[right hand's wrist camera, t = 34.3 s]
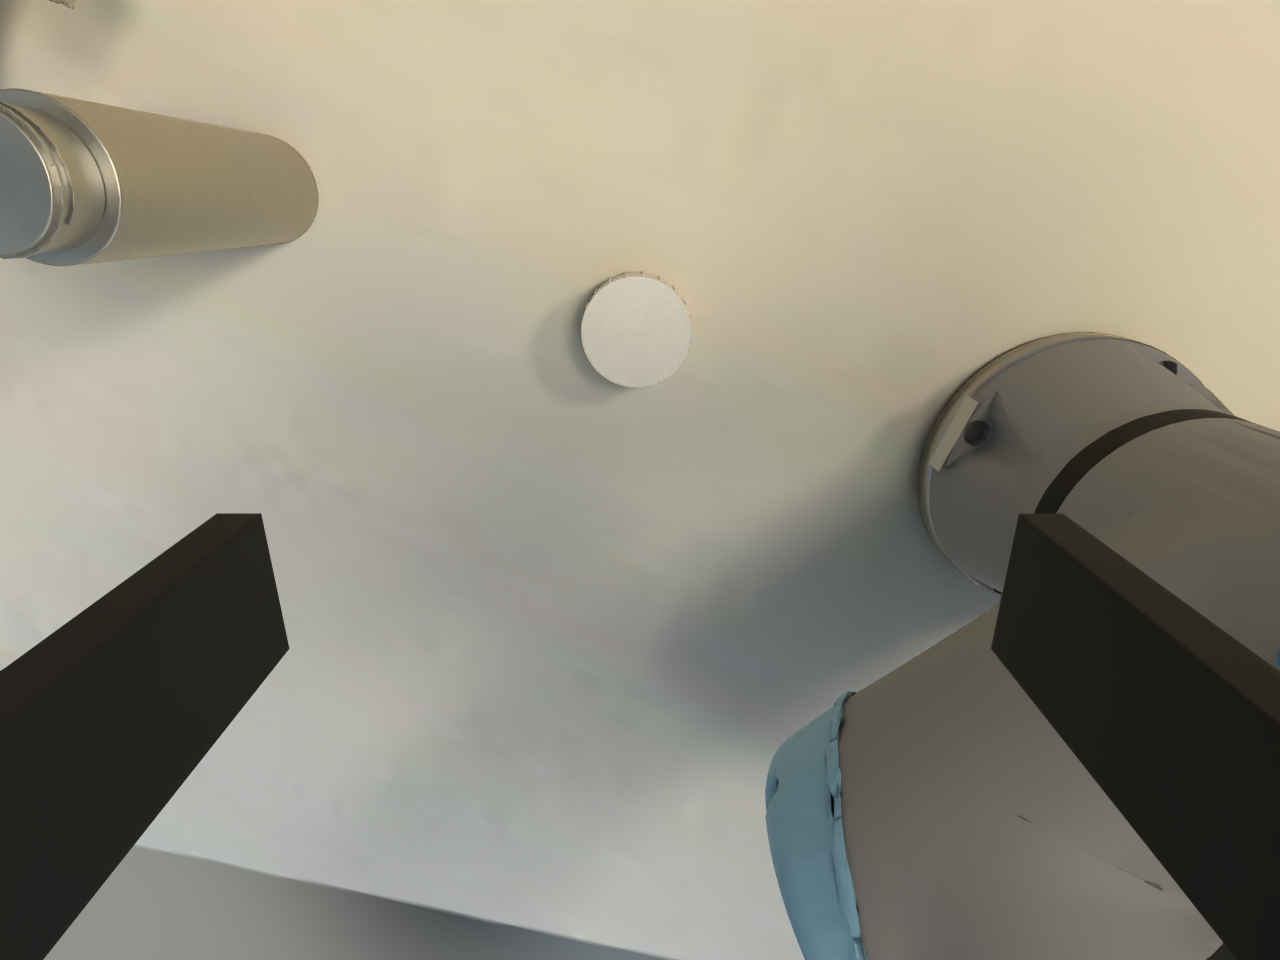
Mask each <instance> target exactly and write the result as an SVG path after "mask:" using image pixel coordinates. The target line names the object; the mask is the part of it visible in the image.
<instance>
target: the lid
mask: <svg viewBox="0 0 1280 960" xmlns="http://www.w3.org/2000/svg"><path fill="white" fill-rule="evenodd" d="M685 306H687V305H686V303H685V301H684V300H682V299H681V297H680V295H679V294H678V293H677V291H676V289H675V287H674V286H673V287H672V286H671V285H670V284H669V283H667V282H666V281H664V280H663V279H661V276H659V277H657V276H654V275H652V274H647V273H645V271H642V273H641V272H631V273H627V272H625V274H621V275H618V276H616V277H614V278H611V277H610V278H609V280H608V281H607V282H605V283H604V284H603V285H602V286H601V287H600V288H599V289H598V288H597V289H596V290H595V292H594V295H593V297H592V298H591V300H590V302H587V304H586V306H585V309H586V310H585V312H584V315H583V319H582V322H581V324H580V326H581V340H582V341H581V343H582V345H583V348H584V351H585V354H586V356H587V359H588V360H589V362H590V363H591V365H592V366H593V367H594V368H595V370H596V371H597V372H598V373H600V374H601V375H602V376H603V377H605V378H606V379H607V380H609V381H611V382H613V383H615V384H618V385H621V386H625V387H632V388H641V387H648V386H652V385H655V384H657V383H660V382H662V381H663V380H665V379H667V378H668V377H670V376H671V375H672V374H673V373H674V372H675V371H676V370H677V369H678V368H679V367H680V365H681V364H682V363H683V361H684V359H685V357H686V356H687V353H688V350H689V347H690V343H691V340H692V337H691V335H692V333H691V323H692V320H691V318H690V316H689V314H688V311H687V309H686V307H685Z"/></svg>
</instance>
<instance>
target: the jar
mask: <svg viewBox="0 0 1280 960" xmlns="http://www.w3.org/2000/svg"><path fill="white" fill-rule="evenodd" d="M317 205H318V192H317V186H316V182H315V179H314V176H313V174H312V172H311V170H310V168H309V166H308V165H307V163H306V161H305V160H304V159H303V158H302V156H301V155H300V154H299V153H298V152H297V151H296V150H295V149H294V148H292V147H291V146H290V145H289V144H287V143H285V142H284V141H282V140H280V139H278V138H275V137H272V136H269V135H264V134H259V133H253V132H248V131H243V130H237V129H232V128H227V127H221V126H216V125H211V124H206V123H200V122H195V121H190V120H184V119H179V118H174V117H168V116H163V115H158V114H152V113H147V112H142V111H137V110H131V109H126V108H121V107H115V106H110V105H105V104H99V103H94V102H89V101H83V100H78V99H73V98H68V97H62V96H57V95H52V94H46V93H41V92H36V91H30V90H24V89H1V90H0V258H3V259H10V258H27V259H30V260H32V261H35V262H38V263H42V264H46V265H53V266H71V265H81V264H90V263H100V262H109V261H118V260H128V259H137V258H147V257H156V256H166V255H175V254H185V253H194V252H204V251H213V250H222V249H232V248H241V247H251V246H260V245H270V244H279V243H286V242H289V241H292V240H294V239H296V238H298V237H300V236H301V235H302V234H303V233H305V232H306V230H307V229H308V228H309V227H310V225H311V224H312V222H313V220H314V217H315V215H316V211H317Z"/></svg>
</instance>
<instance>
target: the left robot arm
mask: <svg viewBox="0 0 1280 960" xmlns="http://www.w3.org/2000/svg"><path fill="white" fill-rule="evenodd" d="M50 1H52V2H55V3H57V4H59V3H61V4H63V5H65V6H66V7H69V8H72V9H74V8H75V4H76V1H77V0H50Z"/></svg>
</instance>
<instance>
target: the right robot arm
mask: <svg viewBox="0 0 1280 960" xmlns="http://www.w3.org/2000/svg"><path fill="white" fill-rule="evenodd" d="M918 497H919V504H920V510H921V513H922V517H923V520H924V523H925V525H926V528H927V530H928V532H929V534H930V536H931V537H932V539H933V541H934V542H935V544H936V545H937V546H938V548H939V549H940V550H941V551H942V553H943V554H944V555H945V556H946V557H947V558H948V559H949V561H950V562H951V563H952V564H953V565H954V566H955V567H956V568H957V569H958V570H959V571H960V572H961V573H962V574H963V575H965V576H966V577H967V578H968V579H970V580H971V581H973V582H974V583H976V584H977V585H979V586H981V587H983V588H985V589H987V590H988V591H990V592H993V593H995V594H997V595H999V596H1002V597H1001V602H1000V604H999V605H998V606H996V607H994V608H993V609H991V610H990V611H988V612H986V613H985V614H983V615H982V616H980V617H978V618H977V619H975V620H974V621H972V622H970V623H969V624H967V625H966V626H964V627H963V628H961V629H959V630H958V631H956V632H955V633H953V634H951V635H950V636H948V637H947V638H945V639H943V640H942V641H940V642H939V643H937V644H935V645H934V646H932V647H931V648H929V649H927V650H926V651H924V652H923V653H921V654H920V655H918V656H916V657H915V658H913V659H912V660H910V661H908V662H907V663H905V664H904V665H902V666H900V667H899V668H897V669H896V670H894V671H892V672H891V673H889V674H887V675H886V676H884V677H882V678H881V679H879V680H878V681H876V682H874V683H873V684H871V685H869V686H868V687H866V688H864V689H863V690H861V691H859V692H858V693H855V692H849V691H848V692H847V693H845V694H843V695H842V696H840V697H839V698H838V699H837V701H836V702H835V704H834V706H833V707H832V708H831V709H829V710H828V711H827V712H825V713H824V714H822V715H821V716H819V717H818V718H817V719H815V720H814V721H812V722H811V723H809V724H808V725H807V726H805V727H804V728H802V729H801V730H799V731H798V732H797V733H795V734H794V735H792V736H791V737H790V738H789V739H787V740H786V741H785V742H784V743H783V744H782V745H781V747H780V748H779V749H778V750H777V752H776V754H775V756H774V758H773V760H772V763H771V765H770V768H769V771H768V776H767V782H766V790H765V795H766V809H767V813H766V824H767V832H768V839H769V845H770V850H771V855H772V860H773V864H774V869H775V873H776V877H777V880H778V884H779V888H780V891H781V895H782V898H783V901H784V904H785V907H786V911H787V914H788V916H789V919H790V922H791V925H792V928H793V930H794V933H795V935H796V938H797V941H798V943H799V946H800V948H801V951H802V953H803V956H804V958H805V960H1280V432H1278V431H1275V430H1272V429H1269V428H1267V427H1264V426H1261V425H1258V424H1255V423H1252V422H1249V421H1247V420H1244V419H1241V418H1238V417H1235V416H1234V415H1233V414H1232V413H1231V412H1230V411H1229V409H1228V408H1227V407H1226V406H1225V405H1224V404H1223V403H1222V402H1221V401H1220V400H1219V399H1218V398H1217V397H1216V396H1215V395H1214V394H1213V393H1212V392H1211V391H1210V390H1209V389H1207V388H1206V387H1205V386H1204V385H1203V384H1202V382H1201V381H1200V380H1199V379H1198V378H1197V377H1196V376H1195V375H1194V374H1193V373H1192V372H1191V371H1190V370H1188V369H1187V368H1186V367H1185V366H1184V365H1182V364H1181V363H1179V362H1178V361H1177V360H1176V359H1174V358H1173V357H1171V356H1169V355H1168V354H1166V353H1165V352H1163V351H1161V350H1158V349H1156V348H1154V347H1152V346H1149V345H1146V344H1143V343H1140V342H1137V341H1133V340H1130V339H1126V338H1122V337H1118V336H1114V335H1109V334H1102V333H1093V332H1077V333H1067V334H1060V335H1055V336H1049V337H1046V338H1042V339H1039V340H1035V341H1033V342H1030V343H1027V344H1025V345H1022V346H1020V347H1018V348H1015V349H1013V350H1011V351H1009V352H1007V353H1005V354H1004V355H1002V356H1000V357H999V358H997V359H995V360H994V361H992V362H991V363H989V364H988V365H987V366H985V367H984V368H982V369H981V370H980V371H979V372H977V373H976V374H975V375H974V376H973V377H971V378H970V379H969V380H968V381H967V382H966V383H965V384H964V385H963V386H962V387H961V388H960V389H959V390H958V391H957V393H956V394H955V395H954V396H953V397H952V398H951V400H950V401H949V402H948V404H947V405H946V406H945V408H944V409H943V411H942V412H941V414H940V415H939V417H938V419H937V420H936V422H935V424H934V426H933V428H932V430H931V432H930V434H929V436H928V439H927V442H926V444H925V447H924V450H923V454H922V458H921V462H920V468H919V475H918ZM288 650H289V645H288V640H287V635H286V631H285V626H284V621H283V616H282V611H281V607H280V602H279V597H278V592H277V587H276V583H275V578H274V573H273V568H272V563H271V559H270V554H269V549H268V544H267V539H266V535H265V530H264V525H263V520H262V515H261V514H216V515H214V516H213V517H212V518H210V519H209V520H207V521H206V522H205V523H203V524H202V525H201V526H199V527H198V528H197V529H195V530H194V531H192V532H191V533H190V534H188V535H187V536H186V537H184V538H183V539H181V540H180V541H179V542H177V543H176V544H175V545H173V546H172V547H170V548H169V549H168V550H166V551H165V552H164V553H162V554H161V555H159V556H158V557H157V558H155V559H154V560H153V561H151V562H150V563H148V564H147V565H146V566H144V567H143V568H142V569H140V570H139V571H137V572H136V573H135V574H133V575H132V576H131V577H129V578H128V579H127V580H125V581H124V582H122V583H121V584H120V585H118V586H117V587H116V588H114V589H113V590H111V591H110V592H109V593H107V594H106V595H105V596H103V597H102V598H100V599H99V600H98V601H96V602H95V603H94V604H92V605H91V606H89V607H88V608H87V609H85V610H84V611H83V612H81V613H80V614H78V615H77V616H76V617H74V618H73V619H72V620H70V621H69V622H67V623H66V624H65V625H63V626H62V627H61V628H59V629H58V630H57V631H55V632H54V633H52V634H51V635H50V636H48V637H47V638H46V639H44V640H43V641H41V642H40V643H39V644H37V645H36V646H35V647H33V648H32V649H30V650H29V651H28V652H26V653H25V654H24V655H22V656H21V657H19V658H18V659H17V660H15V661H14V662H13V663H11V664H10V665H8V666H7V667H6V668H4V669H3V670H1V671H0V960H43V959H44V958H45V957H46V955H47V954H48V953H49V952H50V950H51V949H52V948H53V947H54V945H55V944H56V943H57V941H58V940H59V939H60V938H61V936H62V935H63V934H64V933H65V931H66V930H67V929H68V928H69V926H70V925H71V924H72V923H73V921H74V920H75V919H76V918H77V916H78V915H79V914H80V912H81V911H82V910H83V909H84V907H85V906H86V905H87V904H88V902H89V901H90V900H91V899H92V897H93V896H94V895H95V893H96V892H97V891H98V890H99V888H100V887H101V886H102V885H103V883H104V882H105V881H106V880H107V878H108V877H109V876H110V875H111V873H112V872H113V871H114V870H115V868H116V867H117V866H118V864H119V863H120V862H121V861H122V859H123V858H124V857H125V856H126V854H127V853H128V852H129V851H130V849H131V848H132V847H133V845H134V844H135V843H136V842H137V840H138V839H139V838H140V837H141V835H142V834H143V833H144V832H145V830H146V829H147V828H148V827H149V825H150V824H151V823H152V821H153V820H154V819H155V818H156V816H157V815H158V814H159V813H160V811H161V810H162V809H163V808H164V806H165V805H166V804H167V803H168V801H169V800H170V799H171V797H172V796H173V795H174V794H175V792H176V791H177V790H178V789H179V787H180V786H181V785H182V784H183V782H184V781H185V780H186V779H187V777H188V776H189V775H190V773H191V772H192V771H193V770H194V768H195V767H196V766H197V765H198V763H199V762H200V761H201V760H202V758H203V757H204V756H205V754H206V753H207V752H208V751H209V749H210V748H211V747H212V746H213V744H214V743H215V742H216V741H217V739H218V738H219V737H220V736H221V734H222V733H223V732H224V730H225V729H226V728H227V727H228V725H229V724H230V723H231V722H232V720H233V719H234V718H235V717H236V715H237V714H238V713H239V712H240V710H241V709H242V708H243V706H244V705H245V704H246V703H247V701H248V700H249V699H250V698H251V696H252V695H253V694H254V693H255V691H256V690H257V689H258V688H259V686H260V685H261V684H262V682H263V681H264V680H265V679H266V677H267V676H268V675H269V674H270V672H271V671H272V670H273V669H274V667H275V666H276V665H277V664H278V662H279V661H280V660H281V658H282V657H283V656H284V655H285V653H286V652H287V651H288Z"/></svg>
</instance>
